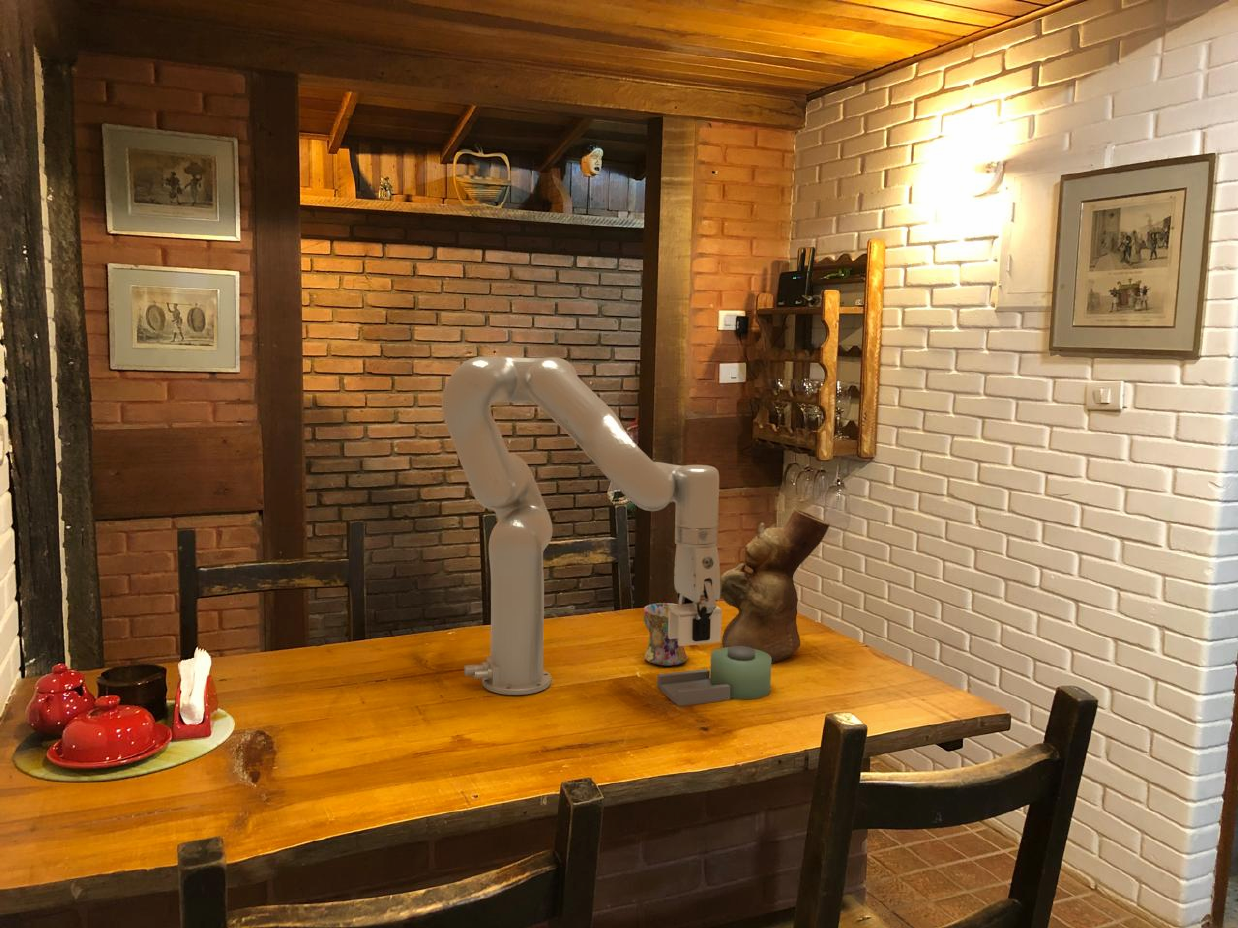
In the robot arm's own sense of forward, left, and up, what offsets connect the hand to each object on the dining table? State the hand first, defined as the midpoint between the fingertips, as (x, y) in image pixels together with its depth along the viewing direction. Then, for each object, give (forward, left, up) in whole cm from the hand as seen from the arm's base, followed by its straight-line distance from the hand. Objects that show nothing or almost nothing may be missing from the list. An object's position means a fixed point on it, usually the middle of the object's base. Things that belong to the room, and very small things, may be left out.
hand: (694, 634), depth 164 cm
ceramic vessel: (+25, +16, -11) cm, 32 cm away
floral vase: (+2, +19, -11) cm, 22 cm away
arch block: (0, 0, -1) cm, 1 cm away
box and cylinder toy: (+5, 0, -11) cm, 12 cm away
